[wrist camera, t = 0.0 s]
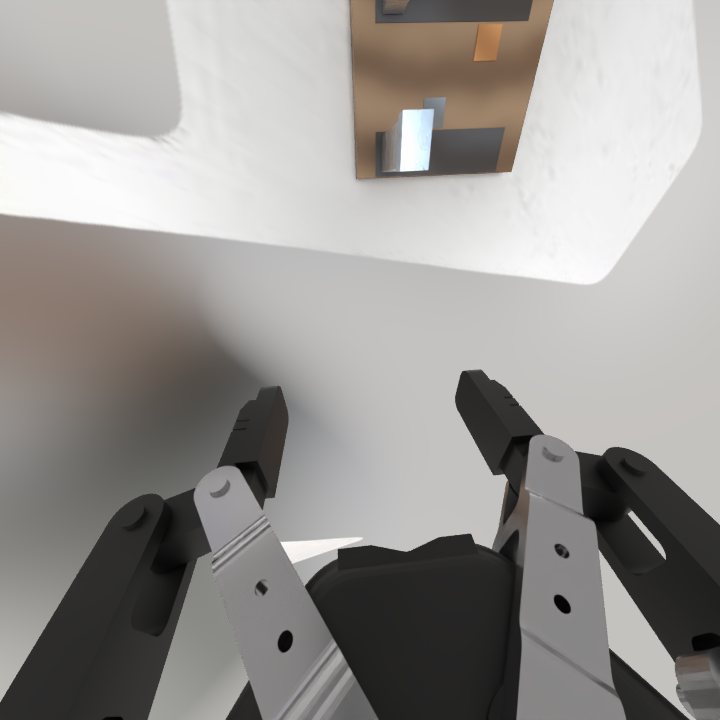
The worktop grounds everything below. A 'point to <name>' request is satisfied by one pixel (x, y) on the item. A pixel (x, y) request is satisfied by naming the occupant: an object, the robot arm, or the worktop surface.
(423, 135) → the lever blue
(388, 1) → the lever orange
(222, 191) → the worktop surface
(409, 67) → the switch base
